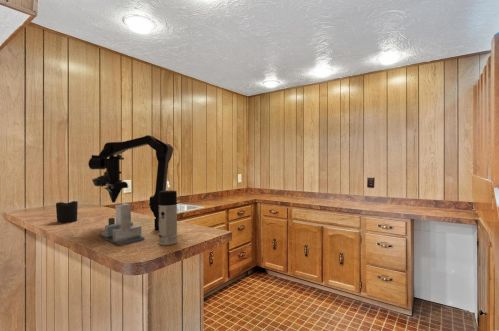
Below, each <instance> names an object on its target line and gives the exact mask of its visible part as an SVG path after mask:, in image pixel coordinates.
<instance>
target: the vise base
mask: <svg viewBox="0 0 499 331" xmlns="http://www.w3.org/2000/svg"><path fill="white" fill-rule="evenodd" d="M97 235H98V236H99V237H102V238H103V239H105V240H106V241H108V242H111V243H113V244H114V245H116V246H117V247H118V246H120V247H121V246H124V245H128V244H132V243H136V242H142V241H144V240H145V236H142V226H141V225H139V224H137V225H133V226H131V227H126V228H120V229H115V230H113V236H110V237H107V236H105V230H103V231H99V232H97Z"/></svg>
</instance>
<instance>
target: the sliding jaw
mask: <svg viewBox="0 0 499 331" xmlns="http://www.w3.org/2000/svg"><path fill="white" fill-rule="evenodd" d="M131 226H134V222H132V221H131ZM115 229H116V217H109V218H108V225H104V231H105V236H107V237H110V236H113V230H115Z"/></svg>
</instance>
